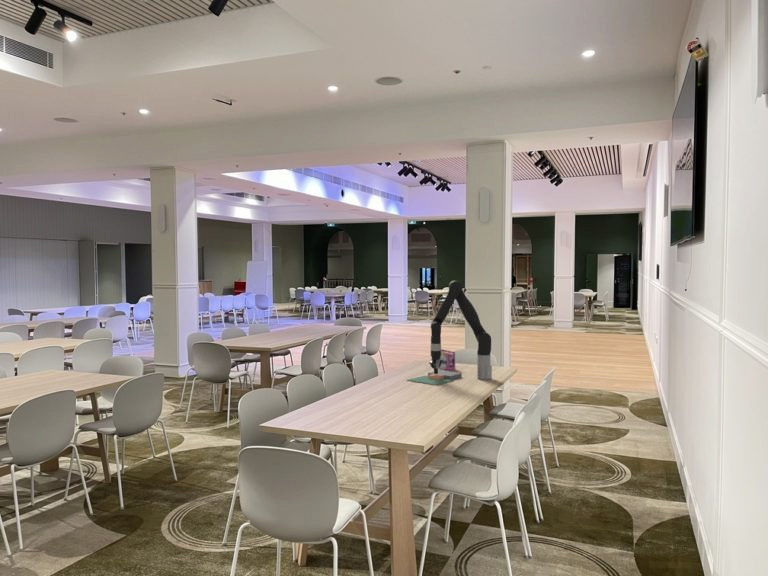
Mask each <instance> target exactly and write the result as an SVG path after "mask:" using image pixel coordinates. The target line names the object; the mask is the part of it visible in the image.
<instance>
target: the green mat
mask: <svg viewBox="0 0 768 576" xmlns="http://www.w3.org/2000/svg"><path fill="white" fill-rule="evenodd" d="M454 380H455V379H454ZM454 380H449V379H441V380H434V379H428V375H422V376H418V377H417V376H416V377H413V378H410V379H406V381H407V382H414V383H419V384H424V385H425V384H426V385H432V386H440V385H444V384H447V383H451V382H454Z"/></svg>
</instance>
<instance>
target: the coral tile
mask: <svg viewBox="0 0 768 576" xmlns="http://www.w3.org/2000/svg"><path fill="white" fill-rule="evenodd" d="M427 376H428V379H434V380H441V379H444V375H440V374H431V375H428V374H427Z"/></svg>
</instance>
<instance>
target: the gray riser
mask: <svg viewBox="0 0 768 576" xmlns="http://www.w3.org/2000/svg"><path fill="white" fill-rule="evenodd" d="M431 374H434V371H429V372H427V376H428V375H431ZM438 374H440V375H444V379H449V380H457V379H461V378H462V377H463V375H462V373H461V372H455V371H450V370H442V369H440V370H439V369H438Z"/></svg>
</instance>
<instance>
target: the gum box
mask: <svg viewBox="0 0 768 576" xmlns="http://www.w3.org/2000/svg"><path fill="white" fill-rule="evenodd" d="M440 359H441V360H442V363H441V366H440V367H439V368H438V369H440V370H443V371H453V370H456V352H455V351H451V350H446V349H442V348H441V357H440Z"/></svg>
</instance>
